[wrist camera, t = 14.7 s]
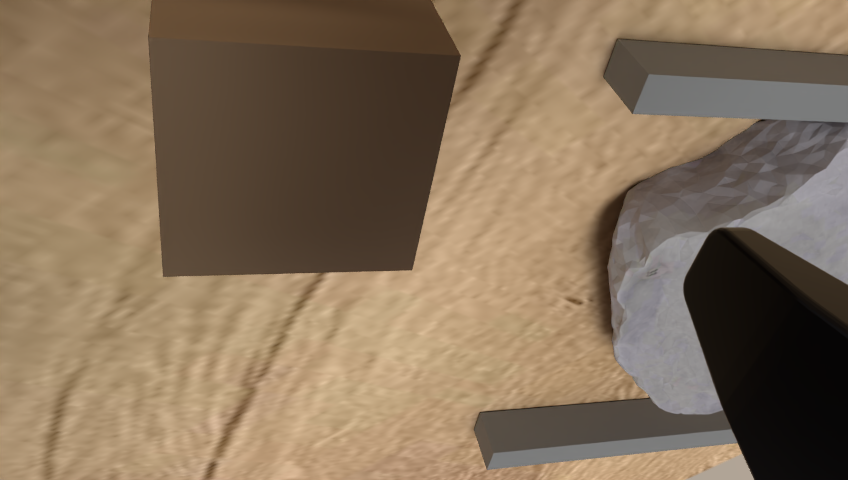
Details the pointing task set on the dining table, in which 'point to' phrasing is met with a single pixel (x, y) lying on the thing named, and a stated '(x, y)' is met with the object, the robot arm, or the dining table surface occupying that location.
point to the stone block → (697, 217)
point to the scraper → (296, 132)
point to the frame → (678, 96)
